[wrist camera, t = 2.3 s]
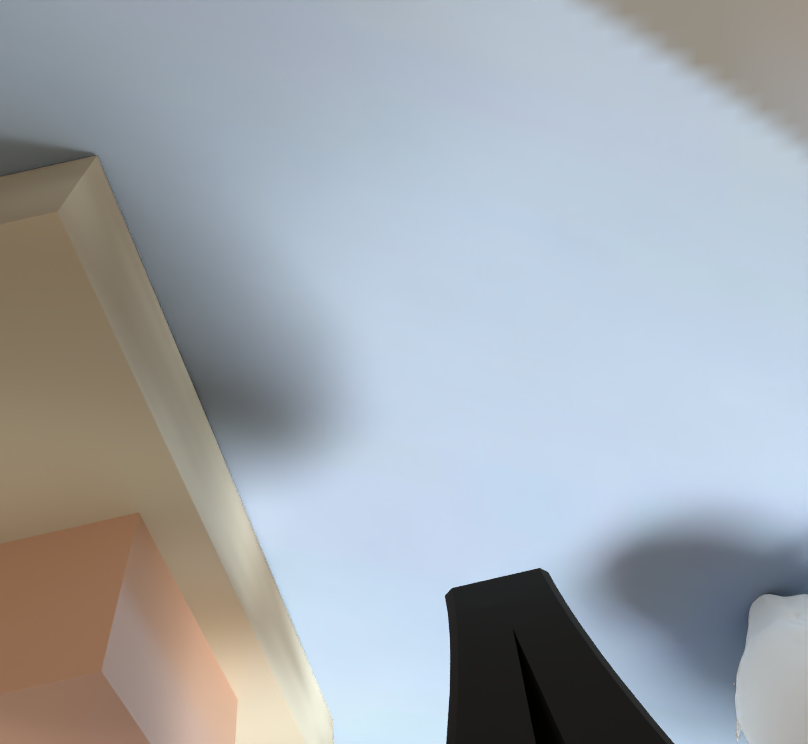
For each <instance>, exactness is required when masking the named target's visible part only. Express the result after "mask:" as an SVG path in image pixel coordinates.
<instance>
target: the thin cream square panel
mask: <svg viewBox="0 0 808 744" xmlns="http://www.w3.org/2000/svg"><path fill="white" fill-rule="evenodd" d="M138 512H139V514H140V516H141V518H142V520H143V521H144V523H145V525H146V527H147V529H148V531H149V533H150V535H151V537H152V538H153V540H154V542H155V544H156V546H157V548H158V550H159V552H160V554H161V555H162V557H163V559H164V561H165V563H166V565H167V567H168V569H169V571H170V572H171V574H172V576H173V578H174V580H175V582H176V584H177V586H178V588H179V589H180V591H181V593H182V595H183V597H184V599H185V601H186V603H187V605H188V606H189V608H190V610H191V612H192V614H193V616H194V618H195V620H196V622H197V624H198V625H199V627H200V629H201V631H202V633H203V635H204V637H205V639H206V641H207V642H208V644H209V646H210V648H211V650H212V652H213V654H214V656H215V658H216V659H217V661H218V663H219V665H220V667H221V669H222V671H223V673H224V675H225V676H226V678H227V680H228V682H229V684H230V686H231V688H232V690H233V692H234V693H235V695H236V697H237V699H238V705H237V721H236V738H235V744H334V734H333V719H332V717H331V715H330V712H329V710H328V707H327V705H326V703H325V700H324V698H323V695H322V693H321V691H320V688H319V686H318V683H317V681H316V679H315V676H314V674H313V671H312V669H311V667H310V664H309V662H308V659H307V657H306V655H305V652H304V650H303V647H302V645H301V643H300V640H299V638H298V635H297V633H296V631H295V628H294V626H293V623H292V621H291V619H290V616H289V614H288V612H287V609H286V607H285V604H284V602H283V600H282V597H281V595H280V592H279V590H278V588H277V585H276V583H275V580H274V578H273V576H272V573H271V571H270V568H269V566H268V564H267V561H266V559H265V556H264V554H263V552H262V549H261V547H260V544H259V542H258V540H257V537H256V535H255V532H254V530H253V528H252V525H251V523H250V520H249V518H248V516H247V513H246V511H245V508H244V506H243V504H242V501H241V499H240V496H239V494H238V492H237V489H236V487H235V484H234V482H233V480H232V477H231V475H230V472H229V470H228V468H227V465H226V463H225V460H224V458H223V456H222V453H221V451H220V448H219V446H218V444H217V441H216V439H215V436H214V434H213V432H212V429H211V427H210V425H209V422H208V420H207V417H206V415H205V413H204V410H203V408H202V405H201V403H200V401H199V398H198V396H197V393H196V391H195V389H194V386H193V384H192V381H191V379H190V377H189V374H188V372H187V369H186V367H185V365H184V362H183V360H182V357H181V355H180V353H179V350H178V348H177V345H176V343H175V341H174V338H173V336H172V333H171V331H170V329H169V326H168V324H167V321H166V319H165V317H164V314H163V312H162V309H161V307H160V305H159V302H158V300H157V297H156V295H155V293H154V290H153V288H152V285H151V283H150V281H149V278H148V276H147V273H146V271H145V269H144V266H143V264H142V261H141V259H140V257H139V254H138V252H137V249H136V247H135V245H134V242H133V240H132V238H131V235H130V233H129V230H128V228H127V226H126V223H125V221H124V218H123V216H122V214H121V211H120V209H119V206H118V204H117V202H116V199H115V197H114V194H113V192H112V190H111V187H110V185H109V182H108V180H107V178H106V175H105V173H104V170H103V168H102V166H101V163H100V161H99V158H98V156H97V155H95V156H91V157H86V158H82V159H77V160H73V161H68V162H64V163H59V164H55V165H50V166H46V167H42V168H37V169H33V170H28V171H24V172H19V173H15V174H10V175H6V176H1V177H0V544H2V543H6V542H10V541H15V540H19V539H24V538H28V537H32V536H37V535H41V534H46V533H50V532H54V531H59V530H63V529H68V528H72V527H76V526H81V525H85V524H90V523H94V522H98V521H103V520H107V519H112V518H116V517H120V516H125V515H129V514H134V513H138Z"/></svg>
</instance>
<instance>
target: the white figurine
mask: <svg viewBox="0 0 808 744" xmlns="http://www.w3.org/2000/svg"><path fill="white" fill-rule="evenodd" d="M748 623H749V626H748V633H747V637H746V646H745V651H744V654H743V656H742V658H741V661H740V664H739V667H738V671H737V674H736V678H737V682H736V695H735V707H736V712H737V723H736V740H737V742H738V740H739V734H740V731H741V728H742V731H743V733H744V735H745V737H746V739H747V741H748V743H749V744H808V594H801V595H794V596H788V597H781V596H777V595H772V594H764V595H762V596H760V597H759V598H757V599H756V600H755V601H754V602H753V603H752V605H751V608H750V611H749V618H748ZM734 684H735V682H734Z"/></svg>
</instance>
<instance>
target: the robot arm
mask: <svg viewBox="0 0 808 744" xmlns="http://www.w3.org/2000/svg"><path fill="white" fill-rule="evenodd" d="M445 599H446V605H447V611H448V620H449V632H450V697H449V712H448V727H447V742H446V744H674V743H673V742H672V741H671V739H670V738H669V737H668V736H667V735H666V733H665V732H664V731H663V730H662V729H661V728H660V726H659V725H658V724H657V723H656V722H655V721H654V719H653V718H652V717H651V716H650V715H649V713H648V712H647V711H646V710H645V708H644V707H643V706H642V705H641V703H640V702H639V701H638V700H637V698H636V697H635V696H634V695H633V693H632V692H631V691H630V690H629V689H628V687H627V686H626V685H625V684H624V682H623V681H622V680H621V679H620V677H619V676H618V675H617V674H616V672H615V671H614V670H613V668H612V667H611V666H610V664H609V663H608V662H607V660H606V659H605V658H604V656H603V655H602V654H601V652H600V651H599V650H598V648H597V647H596V645H595V644H594V643H593V641H592V640H591V639H590V637H589V636H588V634H587V633H586V632H585V630H584V629H583V627H582V626H581V624H580V623H579V622H578V620H577V619H576V617H575V616H574V614H573V613H572V611H571V610H570V608H569V606H568V605H567V603H566V602H565V600H564V599H563V597H562V595H561V594H560V592H559V590H558V589H557V587H556V585H555V584H554V582H553V580H552V578H551V576H550V575H549V573H548V572H547V571H545V570H543V569H541V568H538V569H534V570H529V571H525V572H521V573H516V574H512V575H507V576H503V577H499V578H494V579H490V580H486V581H481V582H477V583H472V584H468V585H464V586H459V587H455V588H452V589H451V590H450V591H449V592H448V593H447V594H446V595H445Z"/></svg>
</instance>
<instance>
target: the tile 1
mask: <svg viewBox="0 0 808 744" xmlns="http://www.w3.org/2000/svg"><path fill="white" fill-rule="evenodd" d="M237 705H238V699H237V697H236V695H235V693H234V692H233V690H232V688H231V686H230V684H229V682H228V680H227V678H226V676H225V675H224V673H223V671H222V669H221V667H220V665H219V663H218V661H217V659H216V658H215V656H214V654H213V652H212V650H211V648H210V646H209V644H208V642H207V641H206V639H205V637H204V635H203V633H202V631H201V629H200V627H199V625H198V624H197V622H196V620H195V618H194V616H193V614H192V612H191V610H190V608H189V606H188V605H187V603H186V601H185V599H184V597H183V595H182V593H181V591H180V589H179V588H178V586H177V584H176V582H175V580H174V578H173V576H172V574H171V572H170V571H169V569H168V567H167V565H166V563H165V561H164V559H163V557H162V555H161V554H160V552H159V550H158V548H157V546H156V544H155V542H154V540H153V538H152V537H151V535H150V533H149V531H148V529H147V527H146V525H145V523H144V521H143V520H142V518H141V516H140V514H139V512H138V513H134V514H129V515H125V516H120V517H116V518H112V519H107V520H103V521H98V522H94V523H90V524H85V525H81V526H76V527H72V528H68V529H63V530H59V531H54V532H50V533H46V534H41V535H37V536H32V537H28V538H24V539H19V540H15V541H10V542H6V543H2V544H0V744H235V738H236V721H237Z"/></svg>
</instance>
